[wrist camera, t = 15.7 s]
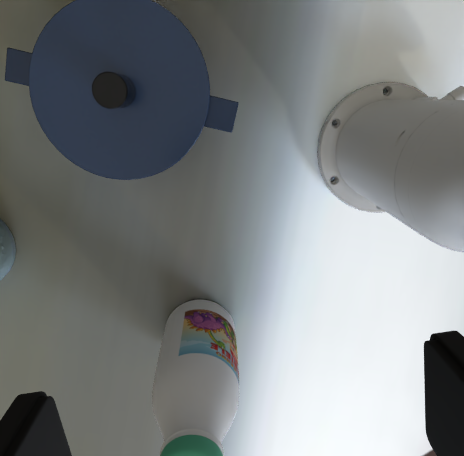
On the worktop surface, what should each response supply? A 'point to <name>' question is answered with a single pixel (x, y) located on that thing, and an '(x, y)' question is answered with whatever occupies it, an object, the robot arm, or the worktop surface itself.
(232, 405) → the milk bottle
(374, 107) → the robot arm
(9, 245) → the grey green cup
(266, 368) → the worktop surface
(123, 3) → the pot lid
